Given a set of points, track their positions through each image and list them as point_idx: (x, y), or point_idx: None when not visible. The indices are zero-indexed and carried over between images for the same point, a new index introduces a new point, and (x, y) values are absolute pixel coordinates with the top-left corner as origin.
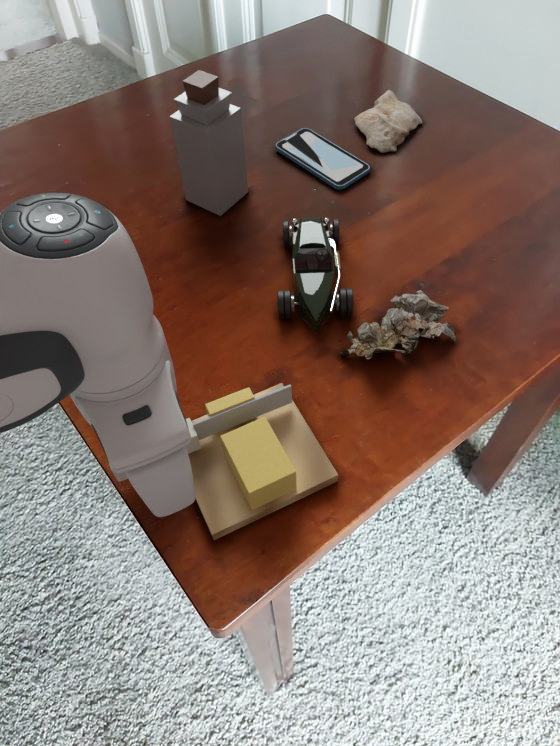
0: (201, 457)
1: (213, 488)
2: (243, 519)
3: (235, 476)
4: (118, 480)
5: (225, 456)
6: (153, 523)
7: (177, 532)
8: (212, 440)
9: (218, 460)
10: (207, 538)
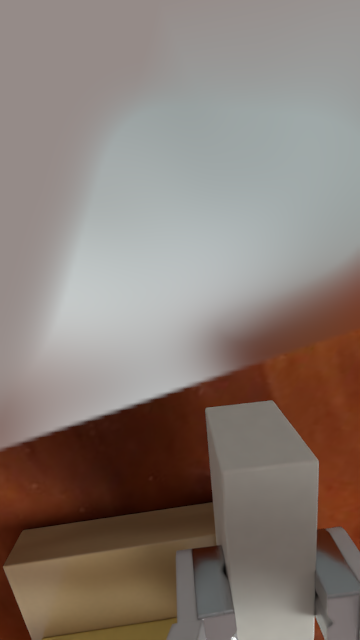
0: None
1: (116, 585)
2: (26, 621)
3: (125, 635)
4: (206, 417)
5: None
6: (94, 429)
7: (59, 470)
8: None
9: None
10: (31, 519)
